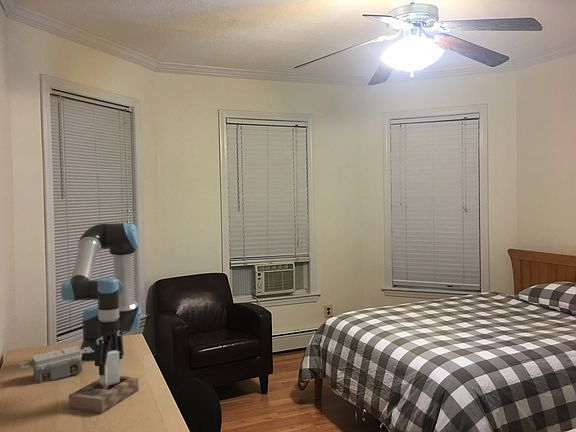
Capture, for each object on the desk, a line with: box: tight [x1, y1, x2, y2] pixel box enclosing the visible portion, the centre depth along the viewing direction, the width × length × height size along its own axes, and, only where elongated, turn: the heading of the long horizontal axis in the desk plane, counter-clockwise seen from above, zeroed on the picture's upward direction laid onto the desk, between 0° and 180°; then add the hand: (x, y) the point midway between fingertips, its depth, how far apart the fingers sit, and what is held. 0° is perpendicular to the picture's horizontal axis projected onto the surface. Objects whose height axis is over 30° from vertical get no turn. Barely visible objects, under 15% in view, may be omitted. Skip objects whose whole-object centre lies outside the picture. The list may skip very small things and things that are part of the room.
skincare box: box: [100, 350, 121, 386], centre depth 192 cm, size 6×4×12 cm
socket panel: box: [68, 375, 139, 415], centre depth 190 cm, size 22×14×5 cm, turn 163°
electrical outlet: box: [18, 345, 94, 384], centre depth 215 cm, size 12×28×10 cm, turn 125°
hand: (109, 379), depth 192 cm, fingers closed on skincare box, 7 cm apart
